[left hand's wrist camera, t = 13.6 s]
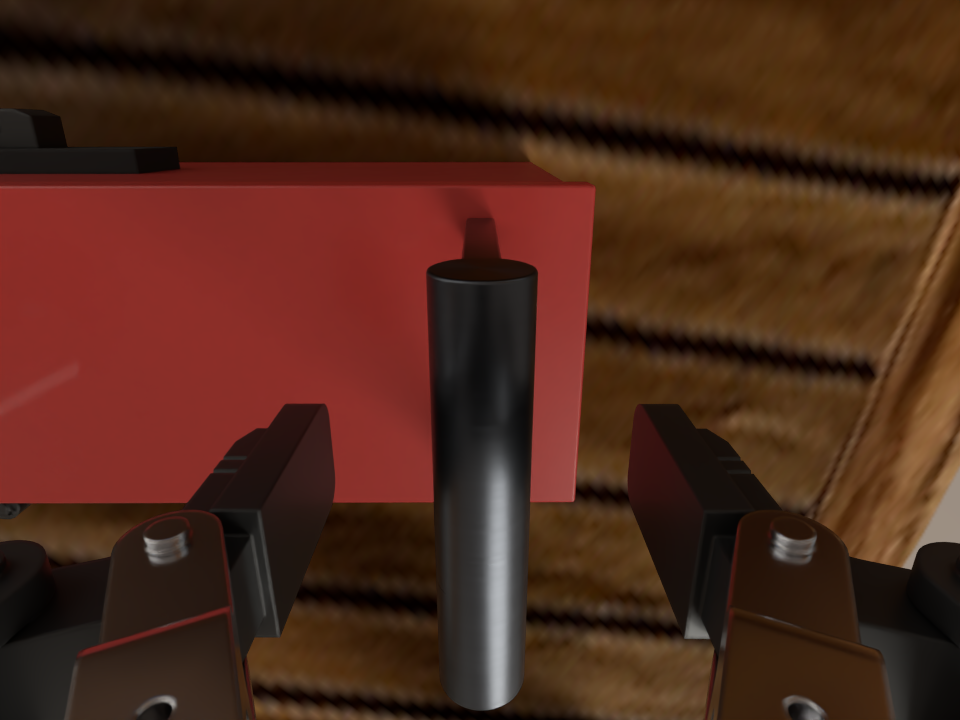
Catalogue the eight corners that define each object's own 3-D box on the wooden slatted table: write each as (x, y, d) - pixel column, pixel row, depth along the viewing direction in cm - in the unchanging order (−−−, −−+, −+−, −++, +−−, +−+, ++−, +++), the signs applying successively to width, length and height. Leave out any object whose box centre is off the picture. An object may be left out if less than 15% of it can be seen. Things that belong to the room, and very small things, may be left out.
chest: (531, 162, 25) (565, 181, 15) (525, 361, 29) (550, 483, 19) (129, 162, 25) (-96, 182, 15) (170, 362, 29) (6, 484, 19)
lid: (589, 181, 15) (703, 232, 8) (570, 484, 19) (636, 736, 11) (-98, 181, 15) (-691, 234, 8) (4, 485, 19) (-335, 739, 11)
